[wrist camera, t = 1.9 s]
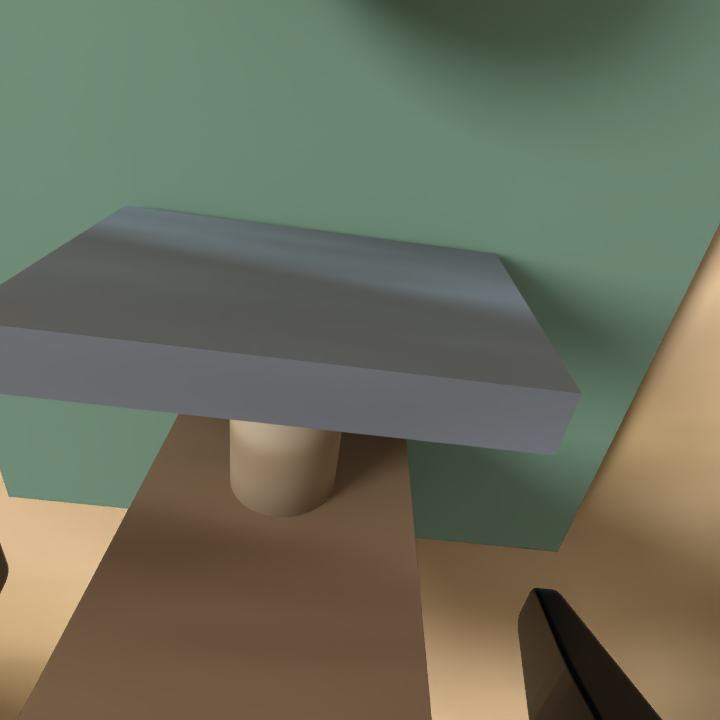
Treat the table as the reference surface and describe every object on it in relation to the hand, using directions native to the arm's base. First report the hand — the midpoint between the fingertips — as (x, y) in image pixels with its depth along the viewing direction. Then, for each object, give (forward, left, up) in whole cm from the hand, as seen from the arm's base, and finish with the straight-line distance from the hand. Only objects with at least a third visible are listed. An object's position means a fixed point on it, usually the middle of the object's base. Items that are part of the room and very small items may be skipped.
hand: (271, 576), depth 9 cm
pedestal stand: (+2, 0, -3) cm, 3 cm away
